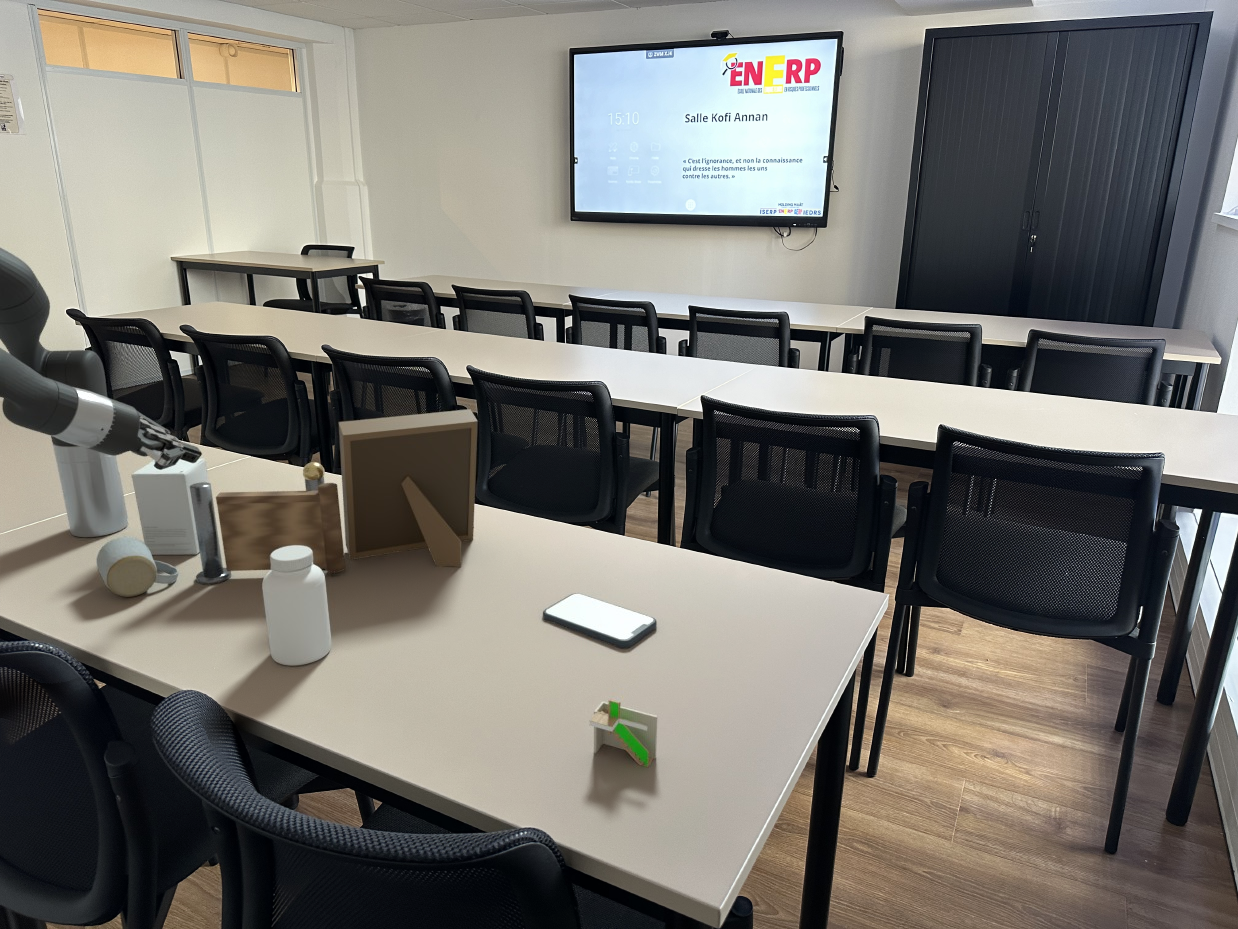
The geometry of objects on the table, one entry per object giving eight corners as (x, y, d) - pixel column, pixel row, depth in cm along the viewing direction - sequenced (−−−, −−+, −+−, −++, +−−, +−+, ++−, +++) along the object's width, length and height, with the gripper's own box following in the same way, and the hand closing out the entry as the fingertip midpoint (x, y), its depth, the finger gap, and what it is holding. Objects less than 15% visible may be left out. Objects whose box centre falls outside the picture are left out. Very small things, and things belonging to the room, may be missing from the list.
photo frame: (346, 550, 150) (333, 413, 142) (466, 531, 159) (461, 401, 151) (360, 585, 137) (347, 437, 129) (490, 562, 146) (486, 423, 138)
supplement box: (219, 535, 156) (207, 457, 151) (197, 555, 147) (184, 473, 143) (168, 535, 156) (155, 457, 151) (144, 555, 147) (129, 473, 142)
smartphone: (538, 621, 128) (625, 653, 119) (538, 612, 127) (625, 643, 119) (575, 600, 135) (660, 628, 126) (575, 590, 134) (660, 618, 125)
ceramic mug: (109, 605, 130) (101, 559, 128) (100, 586, 136) (92, 541, 134) (185, 587, 136) (178, 543, 134) (173, 569, 142) (166, 527, 140)
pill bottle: (344, 643, 120) (334, 545, 115) (307, 672, 113) (294, 569, 108) (297, 633, 122) (285, 537, 118) (258, 661, 115) (244, 560, 111)
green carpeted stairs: (642, 781, 94) (644, 719, 91) (587, 764, 96) (587, 703, 94) (656, 760, 97) (657, 700, 95) (601, 744, 100) (602, 685, 97)
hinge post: (203, 571, 141) (189, 480, 136) (235, 570, 142) (222, 479, 137) (191, 585, 137) (176, 491, 131) (225, 584, 137) (211, 490, 132)
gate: (226, 575, 138) (213, 491, 133) (232, 567, 141) (220, 484, 136) (343, 572, 139) (334, 488, 135) (347, 564, 142) (339, 482, 138)
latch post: (311, 557, 147) (300, 458, 142) (342, 556, 148) (332, 457, 142) (303, 570, 142) (292, 467, 137) (335, 568, 143) (325, 467, 137)
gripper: (127, 426, 114) (230, 461, 129) (90, 374, 120) (193, 413, 135) (94, 469, 114) (200, 499, 129) (58, 416, 121) (164, 450, 136)
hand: (196, 455), depth 132 cm, fingers closed
